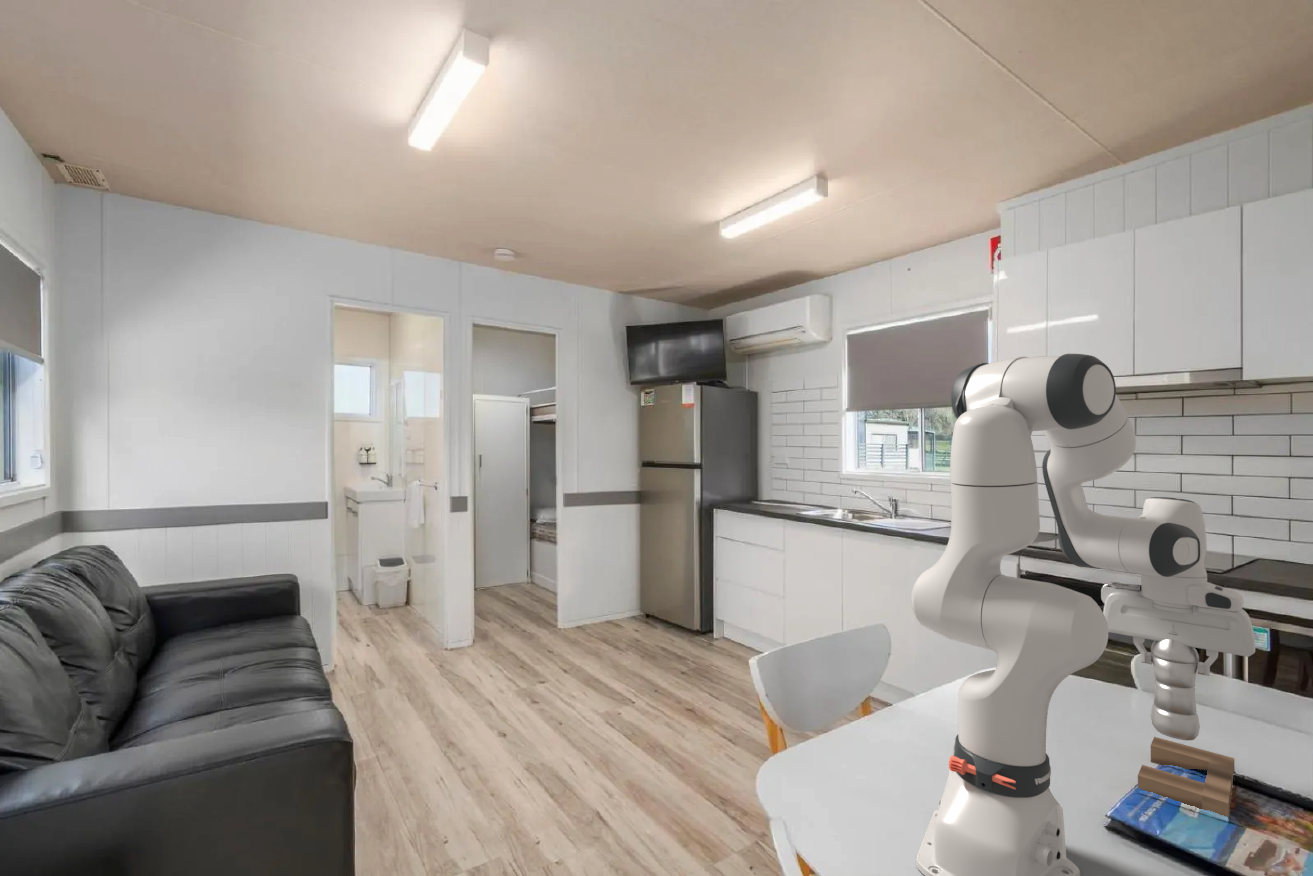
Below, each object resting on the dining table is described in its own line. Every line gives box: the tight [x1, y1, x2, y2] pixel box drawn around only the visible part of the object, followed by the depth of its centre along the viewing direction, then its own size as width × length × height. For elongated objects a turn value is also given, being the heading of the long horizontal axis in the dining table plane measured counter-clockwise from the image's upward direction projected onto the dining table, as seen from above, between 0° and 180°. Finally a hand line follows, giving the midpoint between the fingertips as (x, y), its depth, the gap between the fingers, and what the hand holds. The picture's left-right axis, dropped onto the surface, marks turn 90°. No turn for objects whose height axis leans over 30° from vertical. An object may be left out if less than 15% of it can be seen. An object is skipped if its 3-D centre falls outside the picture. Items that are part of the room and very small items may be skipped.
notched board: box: [1137, 736, 1236, 819], centre depth 103 cm, size 20×11×3 cm, turn 134°
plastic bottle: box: [1150, 625, 1201, 741], centre depth 105 cm, size 6×7×20 cm
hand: (1174, 668), depth 104 cm, fingers closed on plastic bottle, 6 cm apart
